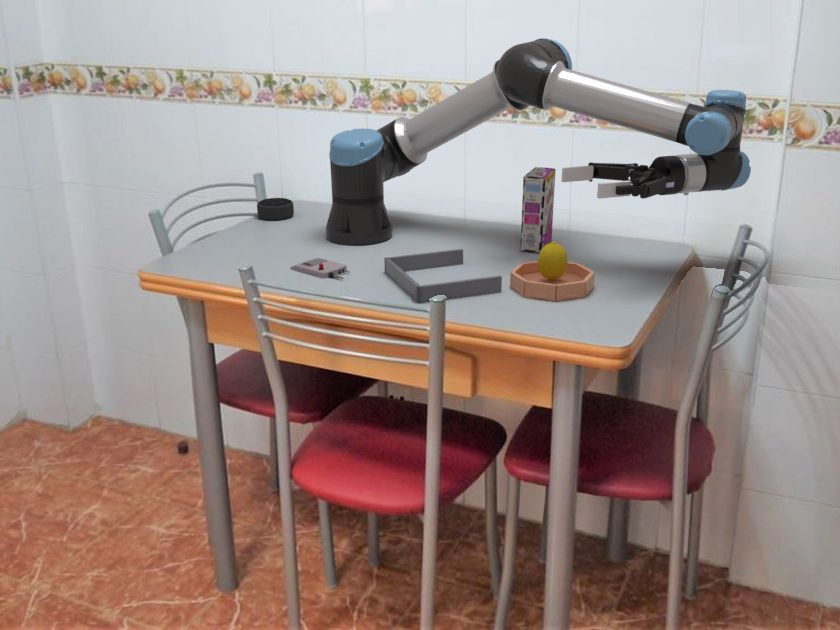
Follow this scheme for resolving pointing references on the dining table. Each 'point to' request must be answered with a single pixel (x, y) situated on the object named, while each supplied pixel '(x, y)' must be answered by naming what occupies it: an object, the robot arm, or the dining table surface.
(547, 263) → the lemon
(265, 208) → the smart speaker
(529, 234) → the candy bar box
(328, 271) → the moisture meter
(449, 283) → the grey u-shaped fence
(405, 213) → the dining table surface
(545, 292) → the bowl
